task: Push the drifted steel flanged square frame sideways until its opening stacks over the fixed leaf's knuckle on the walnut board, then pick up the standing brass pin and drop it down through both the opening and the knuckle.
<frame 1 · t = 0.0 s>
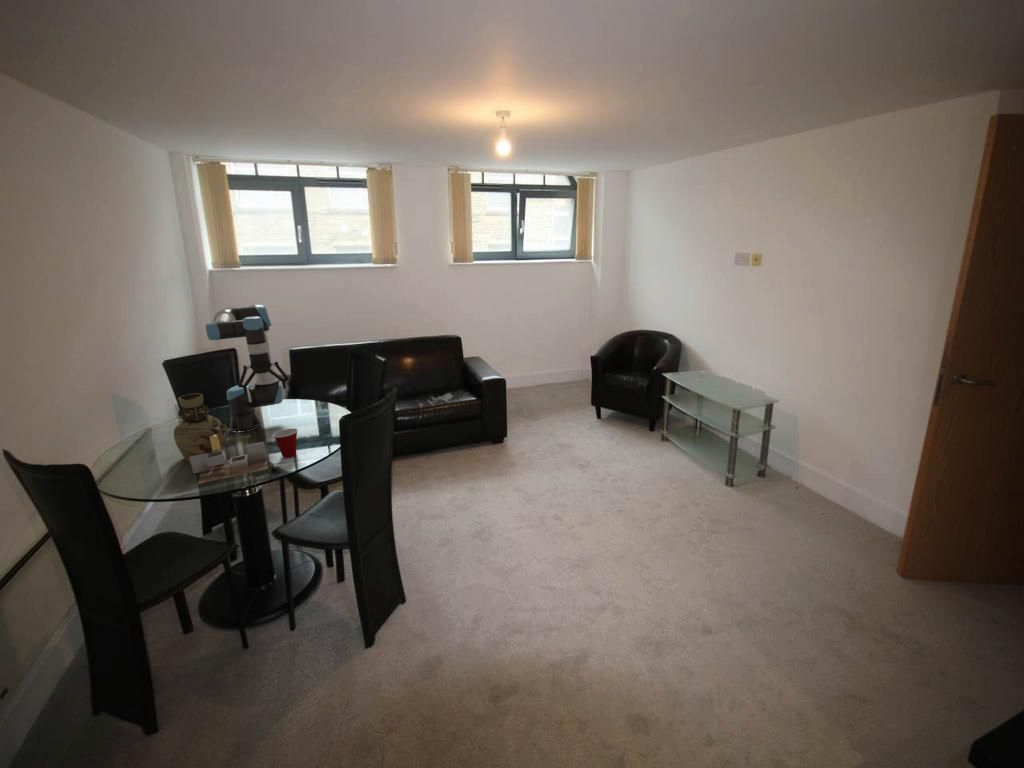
hand: (267, 398, 219), 28 cm above the table, fingers open, 13 cm apart
flanged square frame: (208, 464, 208), point 5 cm above the table, slide at 8.0 cm
ceramic vessel: (205, 458, 228), on the table
board: (235, 469, 214), on the table
plastic cup: (289, 455, 227), on the table
fixed leaf: (240, 469, 214), resting on board
pin: (220, 464, 217), point 1 cm above the table, touching board
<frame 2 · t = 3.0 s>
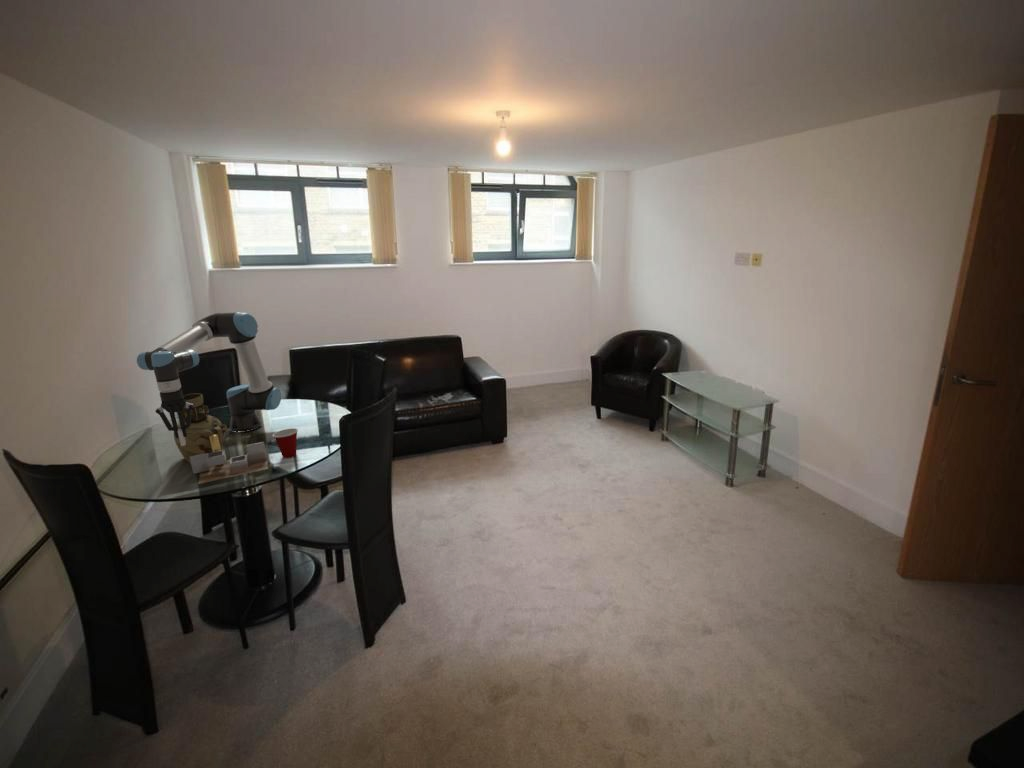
hand: (183, 444, 201), 16 cm above the table, fingers closed
nothing on the table moved.
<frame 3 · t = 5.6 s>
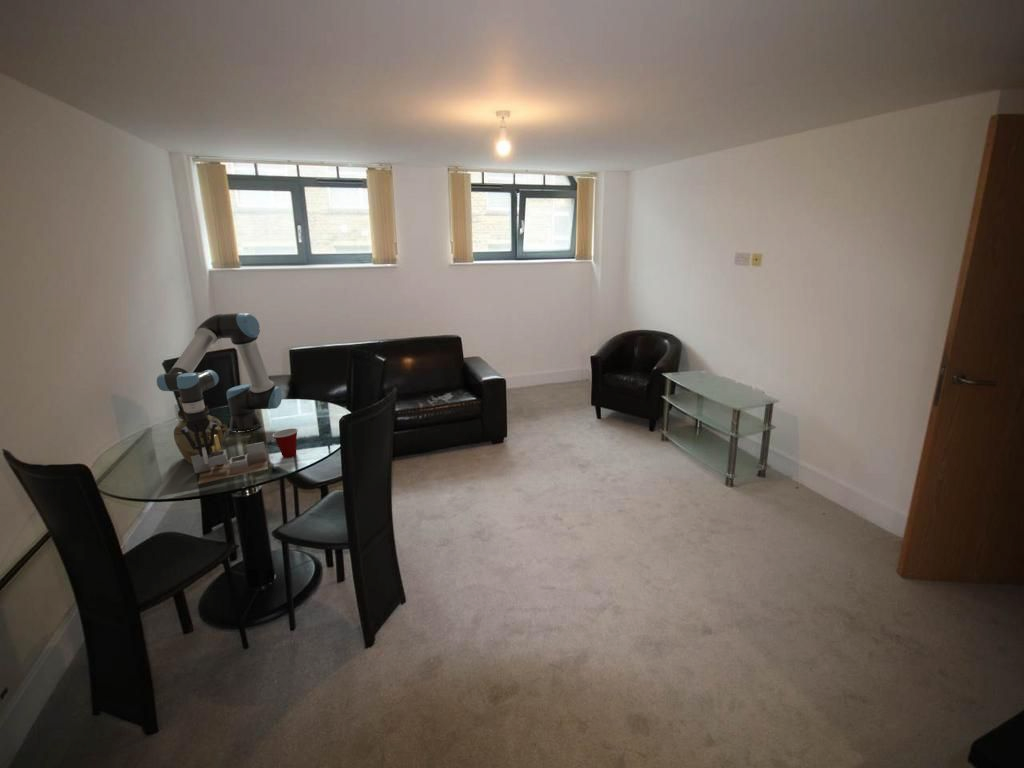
hand: (207, 462, 207), 6 cm above the table, fingers closed
flanged square frame: (210, 463, 208), point 5 cm above the table, slide at 7.5 cm, touching gripper
everything else where it was.
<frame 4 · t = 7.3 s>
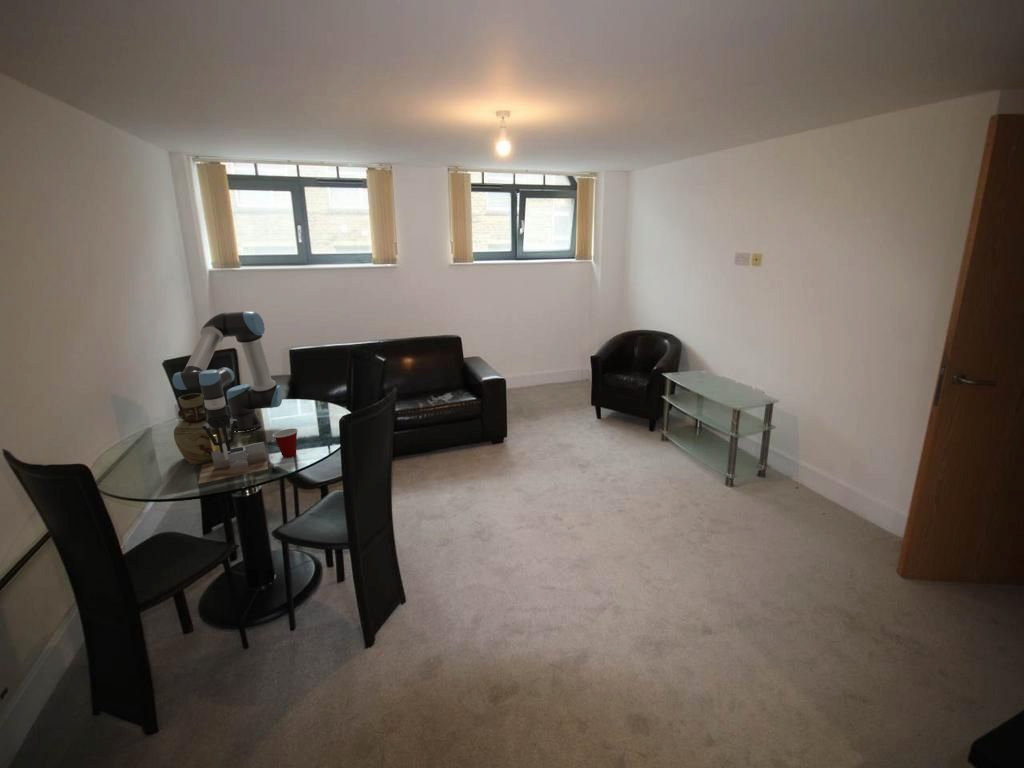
hand: (227, 458, 210), 6 cm above the table, fingers closed
flanged square frame: (230, 459, 212), point 5 cm above the table, slide at 0.0 cm, touching gripper
everything else where it was.
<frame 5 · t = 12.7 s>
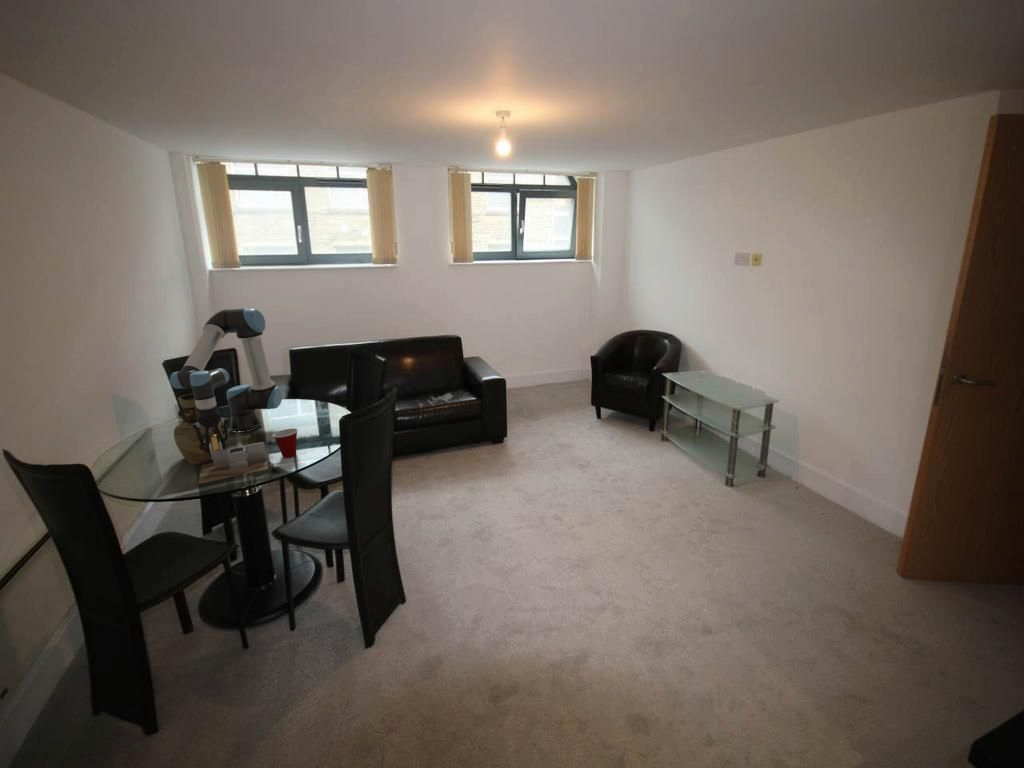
hand: (218, 456, 216), 5 cm above the table, fingers closed on pin, 3 cm apart
flanged square frame: (230, 459, 212), point 5 cm above the table, slide at 0.0 cm
pin: (220, 464, 217), point 1 cm above the table, touching gripper
everything else where it was.
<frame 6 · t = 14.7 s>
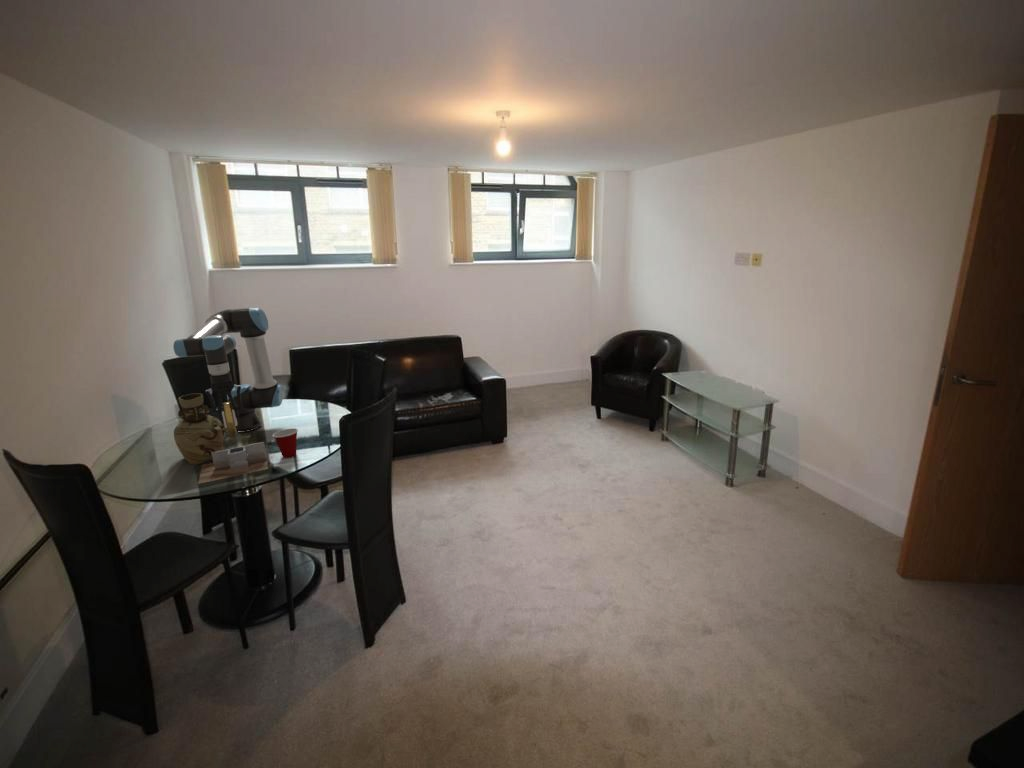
hand: (231, 425, 209), 21 cm above the table, fingers closed on pin, 3 cm apart
pin: (233, 434, 210), point 17 cm above the table, touching gripper
everything else where it was.
when the fingers open (12 cm above the table, at t = 16.8 s): pin drops 6 cm, resting on board.
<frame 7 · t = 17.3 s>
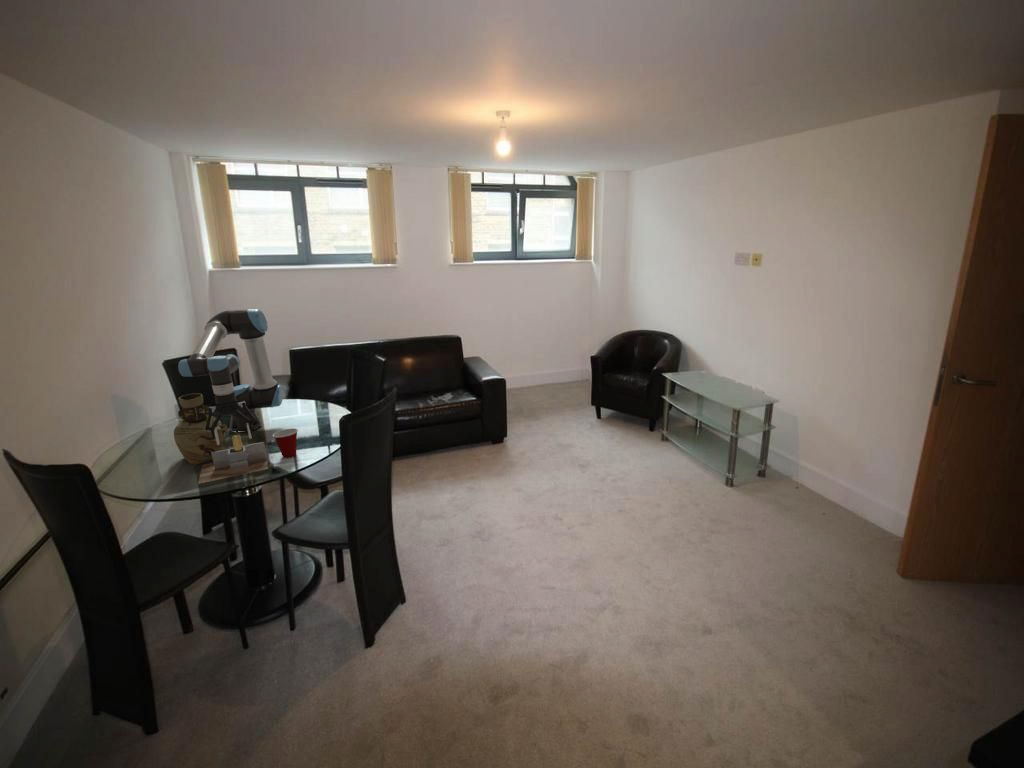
hand: (234, 440, 211), 13 cm above the table, fingers open, 11 cm apart
pin: (241, 466, 214), point 1 cm above the table, touching board
everything else where it was.
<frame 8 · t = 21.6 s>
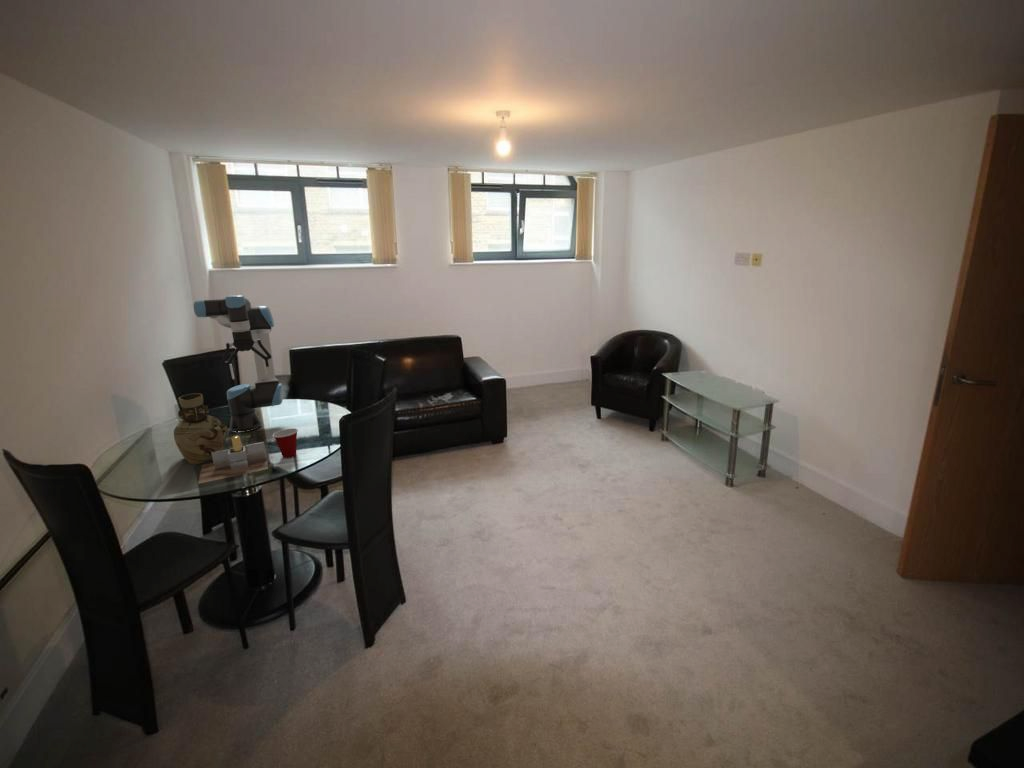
hand: (250, 376, 224), 37 cm above the table, fingers open, 13 cm apart
at the end: flanged square frame slide at 0.0 cm; pin 0.5 cm off-centre on the fixed leaf, point 1.2 cm above the fixed leaf's base; pin tilted 1° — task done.
